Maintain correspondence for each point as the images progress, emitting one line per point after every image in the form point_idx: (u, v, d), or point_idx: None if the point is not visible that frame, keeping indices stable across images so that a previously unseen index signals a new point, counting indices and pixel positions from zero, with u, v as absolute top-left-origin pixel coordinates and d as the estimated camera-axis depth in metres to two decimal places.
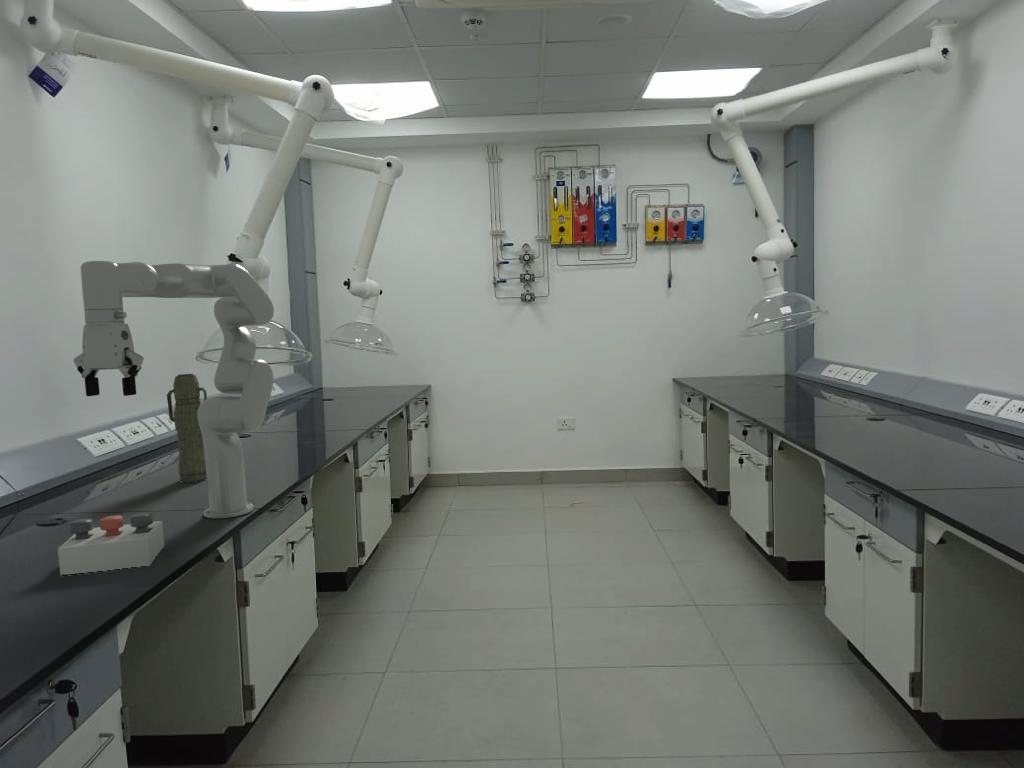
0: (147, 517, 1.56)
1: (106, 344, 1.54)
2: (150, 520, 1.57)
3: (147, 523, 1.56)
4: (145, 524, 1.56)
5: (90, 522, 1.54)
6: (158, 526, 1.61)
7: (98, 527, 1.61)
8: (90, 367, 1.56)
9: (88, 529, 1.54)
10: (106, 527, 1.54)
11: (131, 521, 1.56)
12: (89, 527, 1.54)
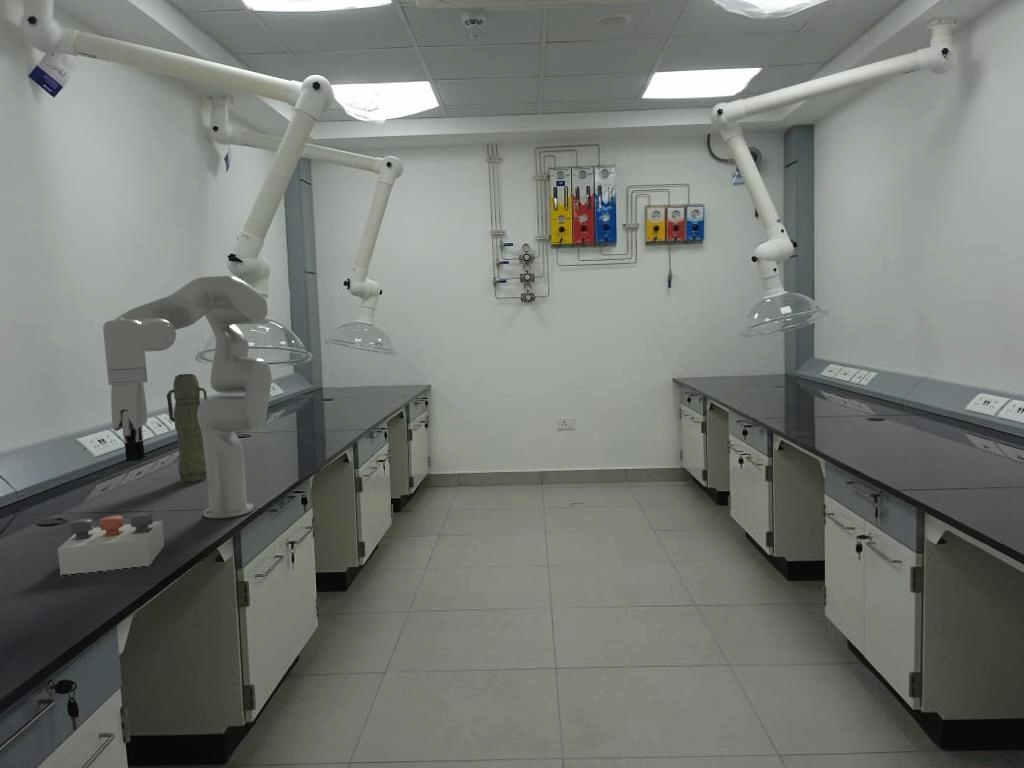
0: (147, 517, 1.56)
1: (144, 401, 1.57)
2: (150, 520, 1.57)
3: (147, 523, 1.56)
4: (145, 524, 1.56)
5: (90, 522, 1.54)
6: (158, 526, 1.61)
7: (98, 527, 1.61)
8: (138, 426, 1.53)
9: (88, 529, 1.54)
10: (106, 527, 1.54)
11: (131, 521, 1.56)
12: (89, 527, 1.54)
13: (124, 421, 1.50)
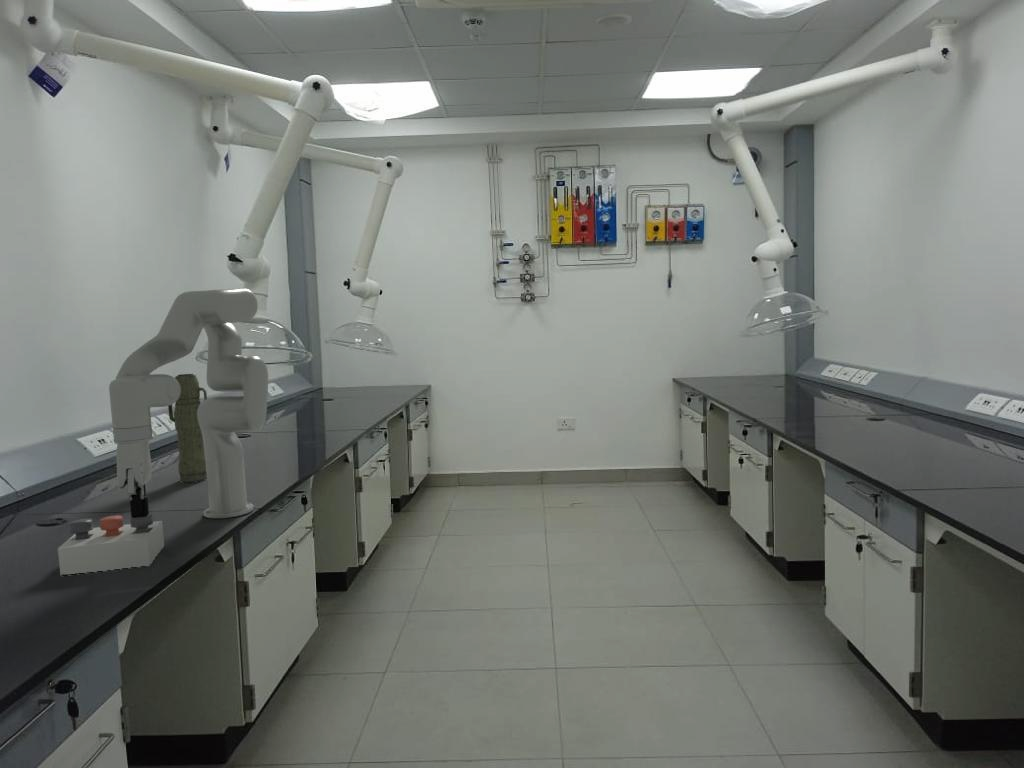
0: (147, 517, 1.56)
1: (149, 457, 1.58)
2: (150, 520, 1.57)
3: (147, 523, 1.56)
4: (145, 524, 1.56)
5: (90, 522, 1.54)
6: (158, 526, 1.61)
7: (98, 527, 1.61)
8: (143, 484, 1.54)
9: (88, 529, 1.54)
10: (106, 527, 1.54)
11: (131, 521, 1.56)
12: (89, 527, 1.54)
13: (129, 480, 1.51)
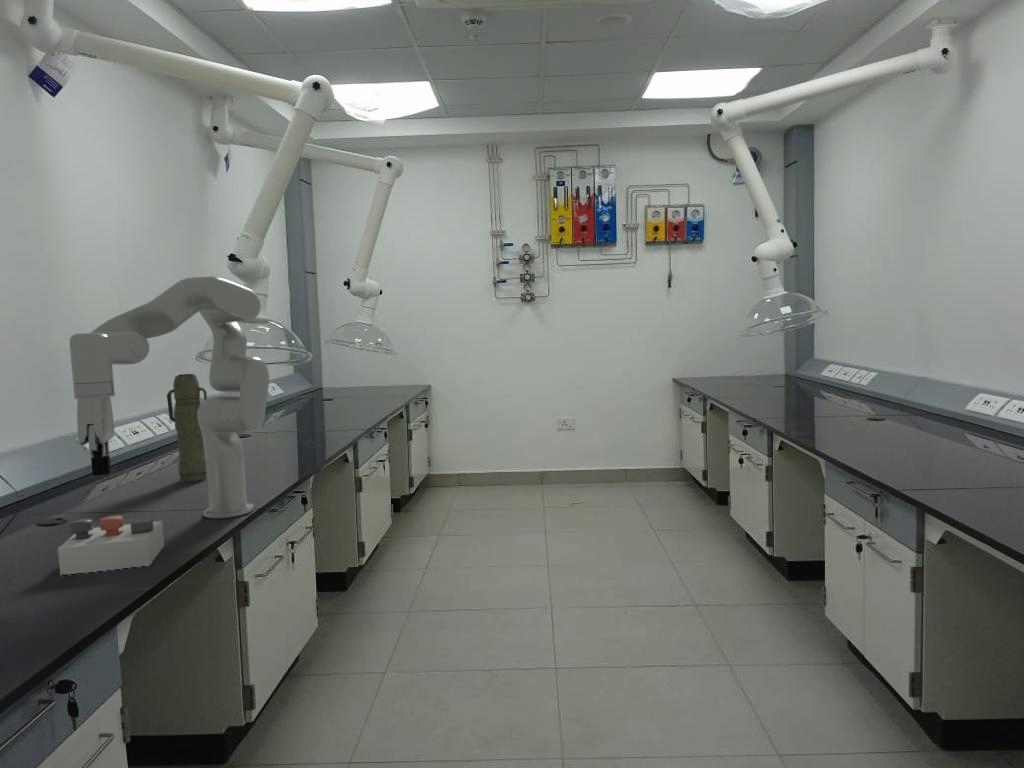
0: (148, 523, 1.56)
1: (111, 415, 1.56)
2: (151, 526, 1.57)
3: (148, 529, 1.56)
4: (146, 530, 1.56)
5: (90, 522, 1.54)
6: (158, 526, 1.61)
7: (98, 527, 1.61)
8: (105, 440, 1.51)
9: (88, 529, 1.54)
10: (106, 527, 1.54)
11: (132, 527, 1.56)
12: (89, 527, 1.54)
13: (90, 435, 1.49)
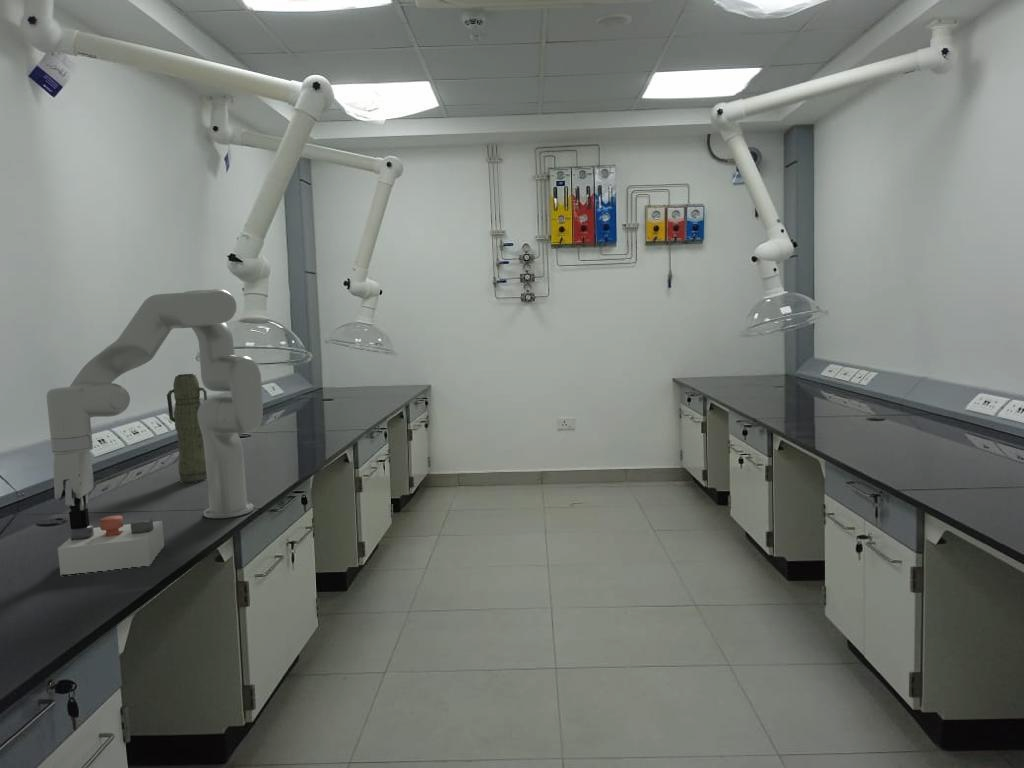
0: (148, 523, 1.56)
1: (90, 467, 1.56)
2: (151, 526, 1.57)
3: (148, 529, 1.56)
4: (146, 530, 1.56)
5: (91, 528, 1.54)
6: (158, 526, 1.61)
7: (98, 527, 1.61)
8: (82, 495, 1.51)
9: (89, 535, 1.54)
10: (106, 527, 1.54)
11: (132, 527, 1.56)
12: (90, 532, 1.54)
13: (67, 491, 1.49)
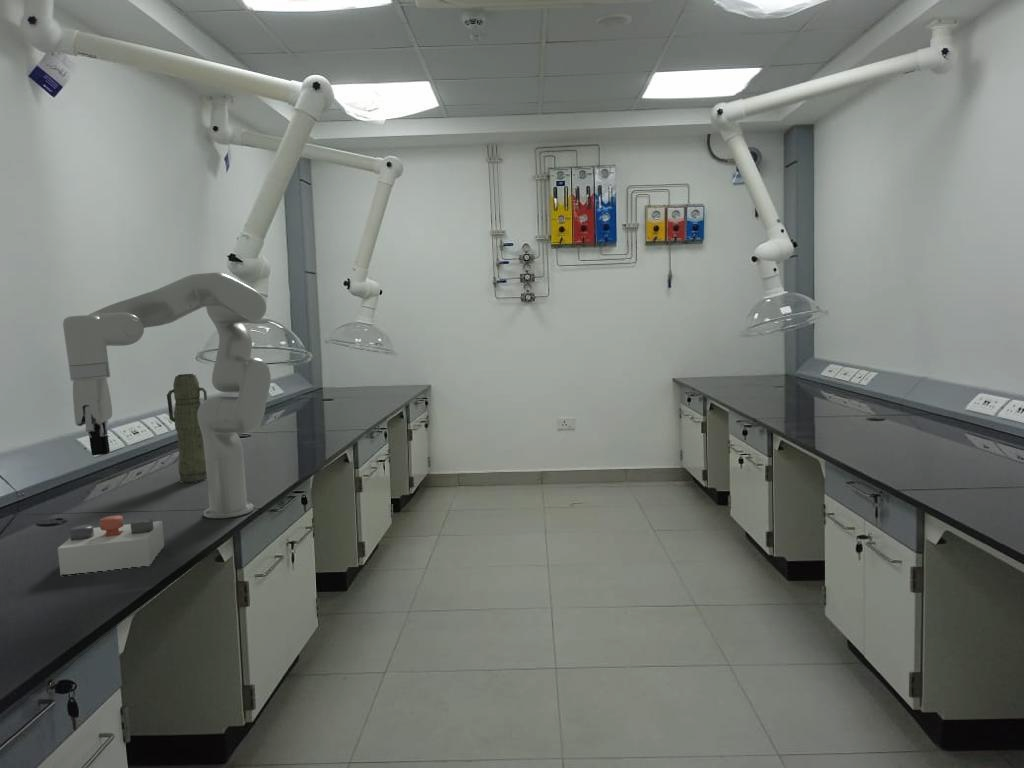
0: (148, 523, 1.56)
1: (108, 395, 1.58)
2: (151, 526, 1.57)
3: (148, 529, 1.56)
4: (146, 530, 1.56)
5: (91, 528, 1.54)
6: (158, 526, 1.61)
7: (98, 527, 1.61)
8: (102, 421, 1.54)
9: (89, 535, 1.54)
10: (106, 527, 1.54)
11: (132, 527, 1.56)
12: (90, 533, 1.54)
13: (87, 416, 1.51)
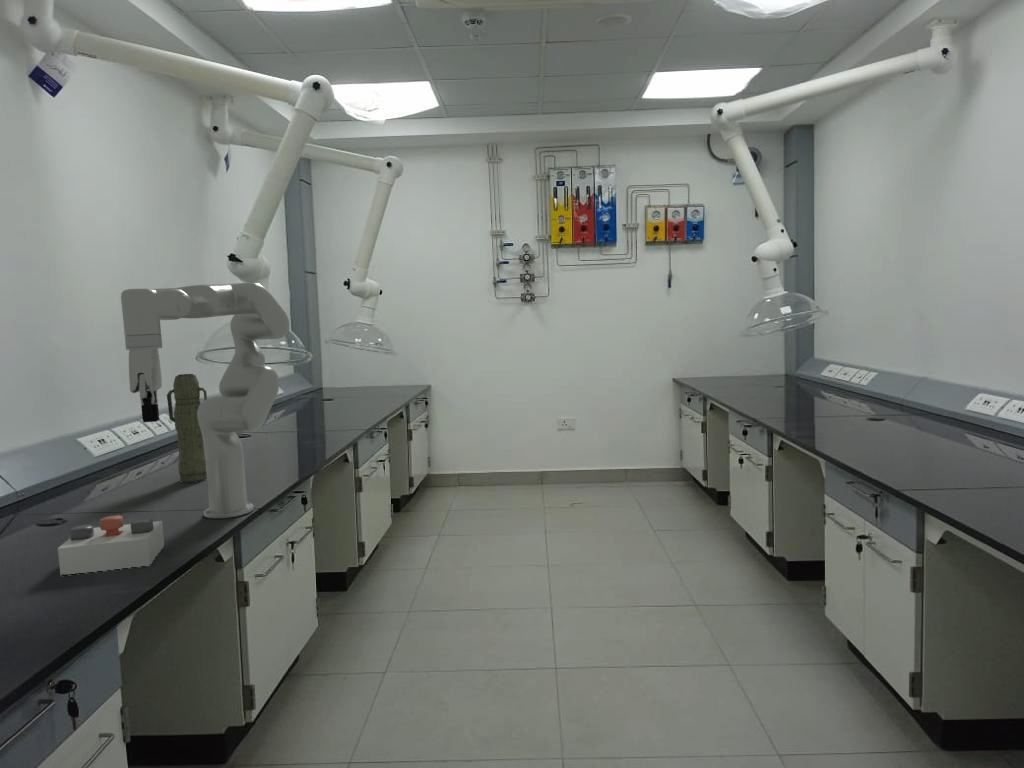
0: (148, 523, 1.56)
1: (159, 366, 1.67)
2: (151, 526, 1.57)
3: (148, 529, 1.56)
4: (146, 530, 1.56)
5: (91, 528, 1.54)
6: (158, 526, 1.61)
7: (98, 527, 1.61)
8: (154, 389, 1.62)
9: (89, 535, 1.54)
10: (106, 527, 1.54)
11: (132, 527, 1.56)
12: (90, 533, 1.54)
13: (141, 384, 1.60)
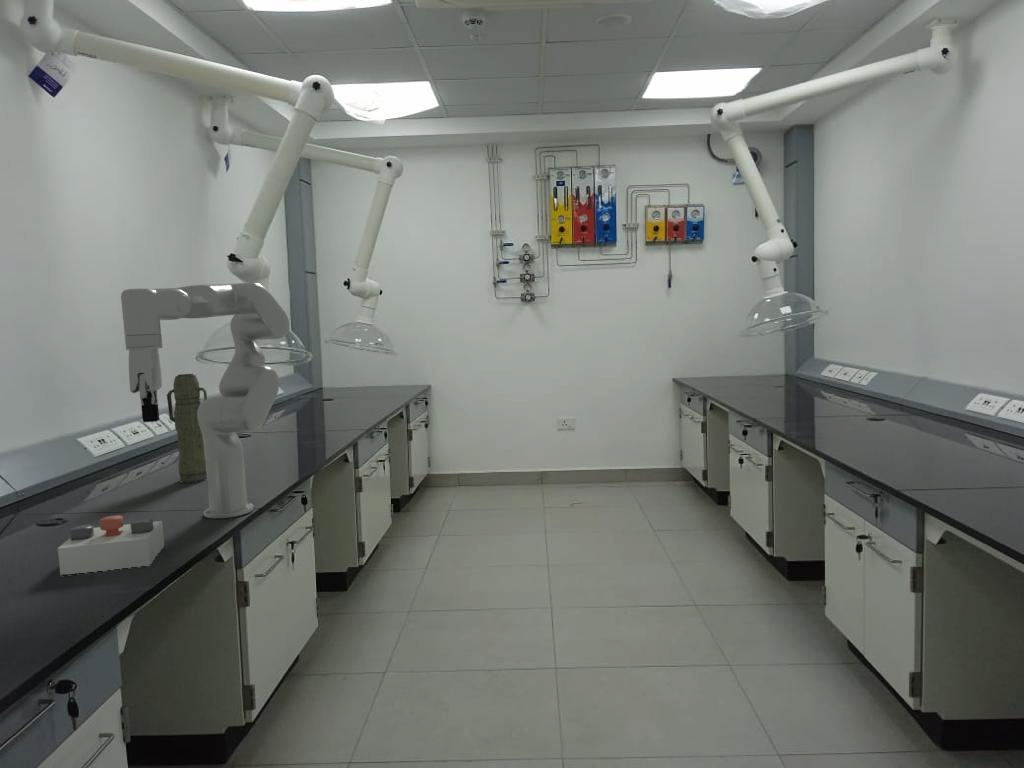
0: (148, 523, 1.56)
1: (159, 366, 1.67)
2: (151, 526, 1.57)
3: (148, 529, 1.56)
4: (146, 530, 1.56)
5: (91, 528, 1.54)
6: (158, 526, 1.61)
7: (98, 527, 1.61)
8: (154, 389, 1.62)
9: (89, 535, 1.54)
10: (106, 527, 1.54)
11: (132, 527, 1.56)
12: (90, 533, 1.54)
13: (141, 384, 1.60)
